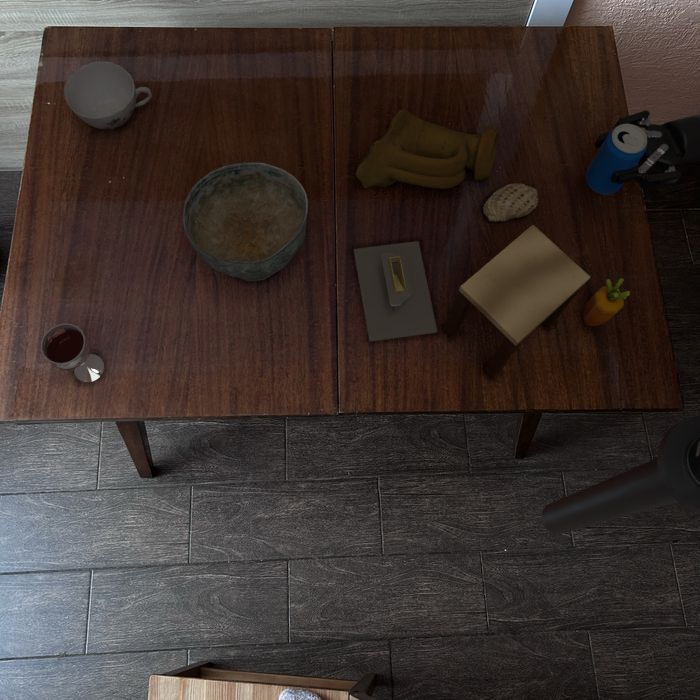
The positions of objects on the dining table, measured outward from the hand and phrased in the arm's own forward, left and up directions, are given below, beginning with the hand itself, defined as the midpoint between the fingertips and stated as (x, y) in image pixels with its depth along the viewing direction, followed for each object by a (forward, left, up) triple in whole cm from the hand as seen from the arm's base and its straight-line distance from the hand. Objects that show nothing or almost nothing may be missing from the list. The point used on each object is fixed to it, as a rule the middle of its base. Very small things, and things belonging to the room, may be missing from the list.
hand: (605, 160), depth 115 cm
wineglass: (+34, +85, -15) cm, 93 cm away
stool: (-7, +28, -15) cm, 32 cm away
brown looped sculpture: (+24, +16, -15) cm, 33 cm away
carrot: (-17, +16, -15) cm, 28 cm away
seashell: (+8, +10, -15) cm, 20 cm away
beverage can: (-1, -2, -7) cm, 8 cm away
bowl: (+32, +51, -15) cm, 62 cm away
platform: (+10, +37, -15) cm, 41 cm away
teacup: (+72, +52, -15) cm, 90 cm away
